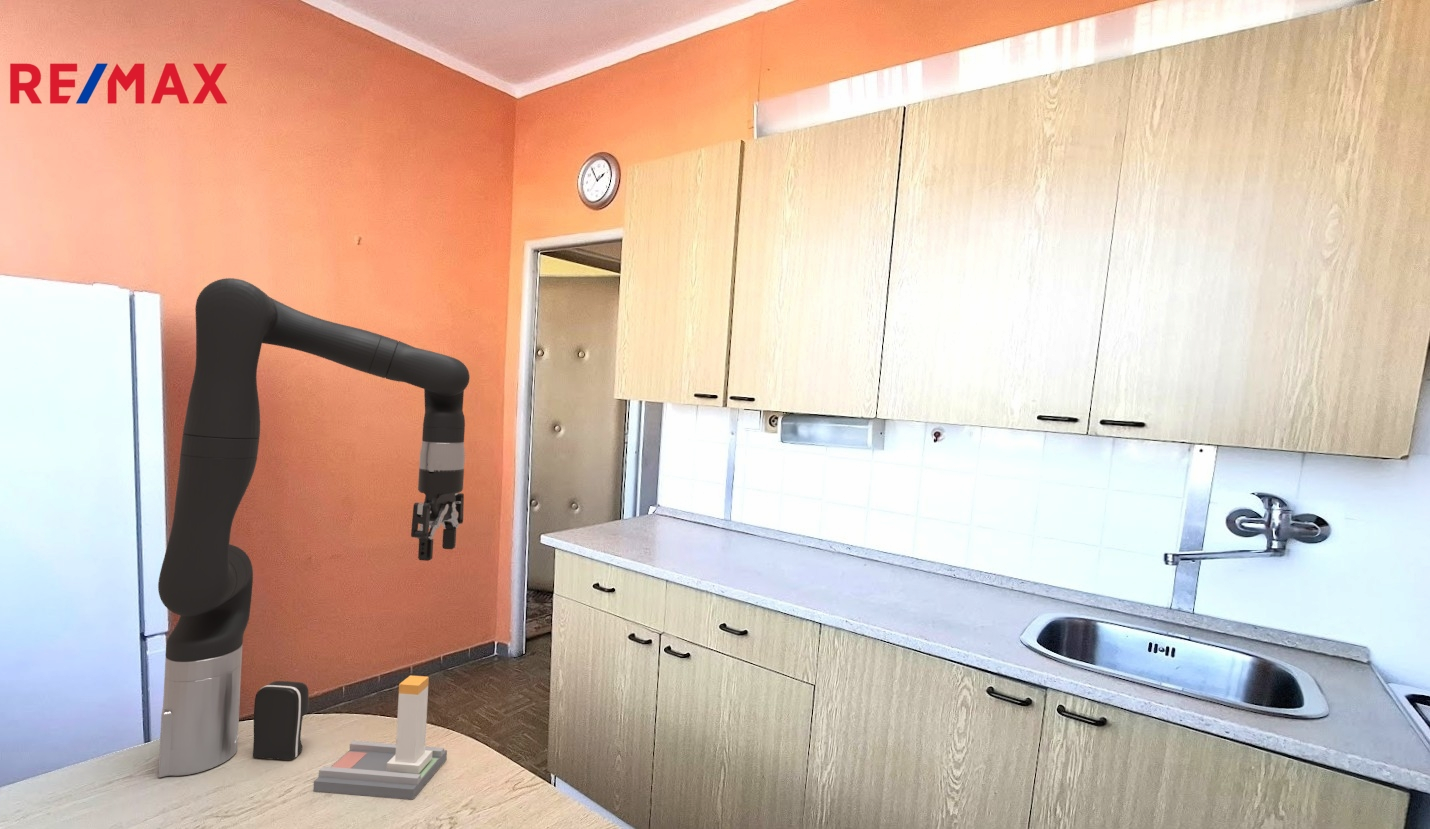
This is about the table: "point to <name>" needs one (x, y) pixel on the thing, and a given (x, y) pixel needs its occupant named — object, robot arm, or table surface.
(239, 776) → the table surface
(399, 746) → the switch handle
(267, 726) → the battery charger
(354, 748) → the switch panel
